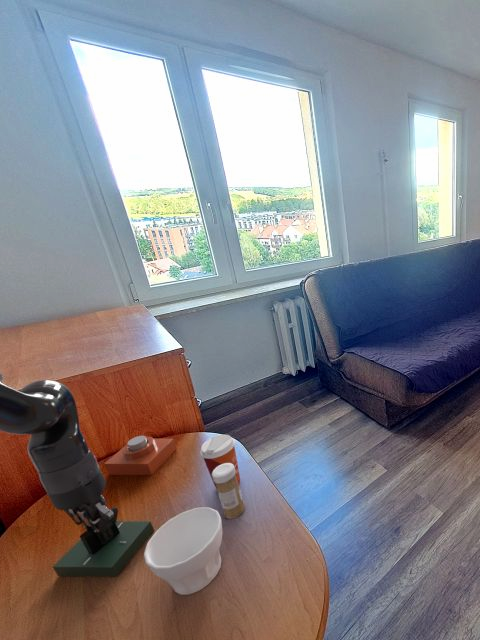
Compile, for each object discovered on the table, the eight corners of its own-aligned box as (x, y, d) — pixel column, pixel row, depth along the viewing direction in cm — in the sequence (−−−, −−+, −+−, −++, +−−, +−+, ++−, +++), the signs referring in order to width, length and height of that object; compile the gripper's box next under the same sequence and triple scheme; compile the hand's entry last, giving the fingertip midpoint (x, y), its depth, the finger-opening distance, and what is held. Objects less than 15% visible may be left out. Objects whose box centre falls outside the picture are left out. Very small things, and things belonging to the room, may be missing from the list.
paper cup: (234, 497, 85) (223, 454, 80) (205, 496, 85) (191, 454, 80) (250, 473, 93) (240, 432, 88) (223, 472, 93) (211, 432, 88)
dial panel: (58, 576, 68) (51, 566, 66) (102, 530, 77) (98, 520, 76) (116, 577, 68) (111, 566, 66) (154, 530, 77) (150, 520, 76)
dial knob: (93, 554, 69) (84, 537, 67) (88, 552, 69) (78, 535, 67) (120, 532, 73) (112, 515, 71) (114, 530, 74) (106, 513, 72)
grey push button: (125, 451, 93) (123, 445, 92) (137, 441, 96) (135, 435, 96) (140, 451, 93) (137, 445, 92) (151, 441, 96) (149, 435, 96)
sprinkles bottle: (248, 502, 84) (237, 461, 79) (239, 519, 80) (227, 477, 75) (230, 503, 84) (218, 462, 79) (220, 520, 79) (207, 477, 75)
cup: (201, 613, 62) (185, 574, 58) (143, 600, 64) (125, 562, 60) (245, 547, 73) (235, 511, 69) (195, 538, 75) (183, 502, 71)
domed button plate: (108, 474, 92) (101, 458, 90) (138, 448, 101) (131, 432, 99) (151, 475, 92) (145, 458, 90) (177, 449, 101) (171, 433, 99)
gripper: (23, 484, 63) (59, 547, 69) (74, 500, 60) (107, 565, 66) (72, 456, 70) (100, 515, 76) (120, 469, 67) (146, 530, 73)
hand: (103, 538), depth 71 cm, fingers closed on dial knob, 2 cm apart
